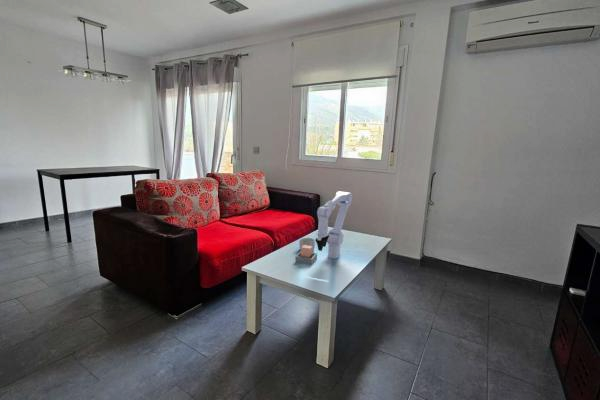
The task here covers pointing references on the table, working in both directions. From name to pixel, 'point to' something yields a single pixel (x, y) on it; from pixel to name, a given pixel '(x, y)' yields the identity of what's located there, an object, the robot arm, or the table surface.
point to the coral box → (306, 250)
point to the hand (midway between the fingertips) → (321, 248)
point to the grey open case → (307, 242)
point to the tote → (306, 259)
